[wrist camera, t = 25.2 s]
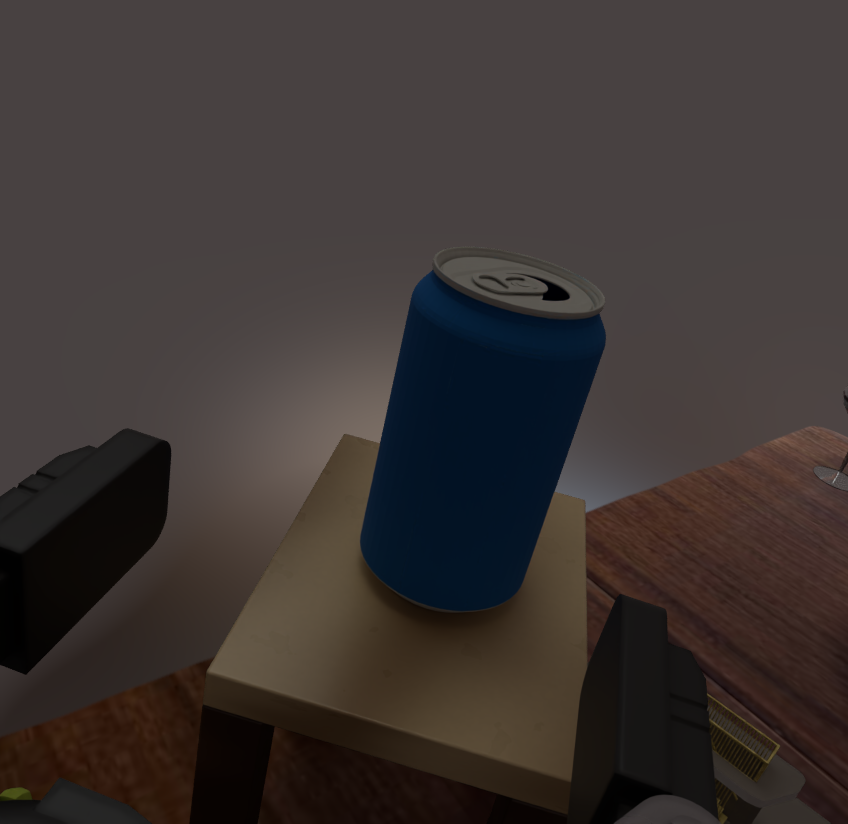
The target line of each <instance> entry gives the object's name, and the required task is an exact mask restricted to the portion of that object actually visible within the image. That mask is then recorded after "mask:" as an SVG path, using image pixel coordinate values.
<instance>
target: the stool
mask: <svg viewBox="0 0 848 824" xmlns="http://www.w3.org/2000/svg"><path fill="white" fill-rule="evenodd" d="M379 446H380V443H376V442H373V441H369V440H366V439H362V438H359V437H355V436H351V435H347V434H344V435H343V437H342V439H341V440H340V442H339V444H338V445H337V447H336V449H335V451H334V452H333V454H332V456H331V458H330V459H329V461H328V463H327V464H326V466H325V468H324V470H323V471H322V473H321V475H320V477H319V478H318V480H317V482H316V483H315V485H314V487H313V489H312V490H311V492H310V494H309V496H308V497H307V499H306V501H305V502H304V504H303V506H302V508H301V509H300V512H299V513H298V515H297V516H296V518H295V520H294V522H293V523H292V525H291V527H290V529H289V530H288V532H287V534H286V536H285V537H284V539H283V541H282V542H281V544H280V546H279V548H278V549H277V551H276V553H275V555H274V556H273V558H272V560H271V561H270V563H269V565H268V566H267V568H266V570H265V572H264V573H263V575H262V577H261V579H260V580H259V582H258V584H257V585H256V587H255V589H254V591H253V592H252V594H251V596H250V598H249V599H248V601H247V603H246V605H245V606H244V608H243V610H242V612H241V613H240V615H239V617H238V618H237V620H236V622H235V623H234V625H233V627H232V629H231V630H230V632H229V634H228V636H227V637H226V639H225V641H224V642H223V644H222V646H221V648H220V649H219V651H218V653H217V655H216V656H215V658H214V660H213V661H212V663H211V665H210V667H209V668H208V670H207V673H206V682H205V691H204V700H203V707H202V716H201V725H200V734H199V743H198V752H197V761H196V770H195V779H194V788H193V797H192V806H191V815H190V823H189V824H258V818H259V812H260V807H261V801H262V795H263V790H264V784H265V778H266V773H267V767H268V761H269V756H270V750H271V744H272V738H273V733H274V727H279V728H282V729H285V730H289V731H292V732H295V733H299V734H302V735H305V736H308V737H312V738H315V739H318V740H322V741H325V742H328V743H332V744H335V745H338V746H341V747H345V748H348V749H351V750H355V751H358V752H361V753H365V754H368V755H371V756H375V757H378V758H381V759H384V760H388V761H391V762H394V763H398V764H401V765H404V766H408V767H411V768H414V769H418V770H421V771H424V772H427V773H431V774H434V775H437V776H441V777H444V778H447V779H451V780H454V781H457V782H460V783H464V784H467V785H470V786H474V787H477V788H480V789H484V790H487V791H490V792H494V793H497V794H498V795H497V798H496V800H495V803H494V805H493V808H492V811H491V813H490V816H489V818H488V821H487V823H486V824H567V816H568V807H569V797H570V787H571V778H572V768H573V758H574V749H575V739H576V729H577V720H578V710H579V701H580V694H581V689H582V685H583V681H584V677H585V673H586V670H587V596H586V519H585V500H582V499H579V498H575V497H571V496H568V495H564V494H561V493H557V492H554V494H553V497H552V500H551V503H550V506H549V509H548V512H547V515H546V517H545V520H544V523H543V526H542V529H541V532H540V535H539V538H538V540H537V543H536V546H535V549H534V552H533V555H532V558H531V561H530V564H529V566H528V569H527V572H526V575H525V578H524V581H523V583H522V585H521V587H520V589H519V590H518V592H517V593H516V594H515V595H514V596H513V597H512V598H511V599H510V600H508V601H507V602H505V603H503V604H501V605H499V606H497V607H494V608H491V609H487V610H482V611H476V612H463V613H446V612H439V611H434V610H430V609H426V608H423V607H420V606H418V605H415V604H413V603H411V602H409V601H407V600H405V599H404V598H402V597H401V596H399V595H398V594H396V593H395V592H394V591H393V590H392V589H390V588H389V587H387V586H386V585H385V584H384V583H383V582H381V581H380V580H379V579H378V578H377V577H376V576H375V575H374V574H373V573H372V571H371V570H370V568H369V567H368V566H367V564H366V562H365V560H364V558H363V555H362V552H361V547H360V535H361V530H362V525H363V521H364V516H365V511H366V507H367V502H368V497H369V493H370V488H371V483H372V479H373V474H374V469H375V465H376V460H377V455H378V451H379Z"/></svg>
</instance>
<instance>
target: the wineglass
mask: <svg viewBox="0 0 848 824" xmlns="http://www.w3.org/2000/svg"><path fill="white" fill-rule="evenodd" d="M843 403H844V406H845V408H846V410H847V413H848V385H847V386H846V388H845V391H844V393H843ZM847 463H848V452H847V454H846V456H845V458H844V460H843V462H842V465H841V467H840V469H839V470H837V469H834V468H831V467H826V466H816V467H815V468H814V473H815V474H816V475H817V476H818V477H819V478H820V479H821V480H823V481H824V482H826V483H827V484H829V485H831V486H833V487H836V488H839V489H841V490H846V491H848V475H847V474H845V473H844V472H842V471H843V470H844V468H845V466H846V465H847Z"/></svg>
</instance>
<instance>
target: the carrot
mask: <svg viewBox="0 0 848 824" xmlns="http://www.w3.org/2000/svg"><path fill="white" fill-rule="evenodd" d="M7 800H32V797H31V794H30V792H29V791H28V790H26V789H23V788H12V789H8V790H5V791H4V792H3V793H2V794H1V795H0V801H7Z"/></svg>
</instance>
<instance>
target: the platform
mask: <svg viewBox="0 0 848 824" xmlns="http://www.w3.org/2000/svg"><path fill="white" fill-rule="evenodd" d="M588 664H589V663H587V667H588ZM708 697H710V700H709V701H708V704H709V702H710V701H711V699H712V700H713V702H712V704H711V706H709V705H708V708H707V711H709V720H710V730H709V734H711V742H712V753H713V764H714V775H715V786H716V797H717V808H718V818H719V822H720V823H721V824H831V823H830V822H828V821H827V820H826V819H824V818H823V817H822V816H820V815H819V814H818V813H816V812H815V811H814V810H812V809H811V808H810V807H808V806H807V805H806V804H804V803H803V802H802V801H800V800H799V799H798V798H796V796H797V794H798V793H799V791H800V790H801V788H802V787H803V785H804V783H805V778H804V776H803V775H802V773H801V772H799V771H798V770H797V769H795V768H794V767H793V766H791V765H790V764H788V763H787V762H786V761H784V760H783V759H782V758H780V757H779V756H777V755H776V752H777V750H778V749H779V747H780V745H778V744H777V743H776V742H774V741H773V740H771V739H770V738H769V737H767V736H766V735H764V734H763V733H762V732H760V731H759V730H758V729H756V728H755V727H753V726H752V725H751V724H749V723H748V722H746V721H745V720H744V719H742V718H741V717H739V716H738V715H737V714H735V713H734V712H733V711H731V710H730V709H728V708H727V707H726V706H724V705H723V704H721V703H720V702H719V701H717V700H716V699H714V698H713V697H712V696H710V695H709V694H708V693H707V698H708ZM714 701H715V702H717V703H716V705H715V706H714V708H711V707H712V705H713V703H714ZM717 704H719V707H718V709H717V711H716V710H714V709H715V707H716V706H717ZM720 706H722V707H723V708H722V710H721V712H720V713H718V710H719V708H720ZM724 708H725V709H726V711H725V712H724V714H723V716H722V715H721V713H722V711H723V709H724ZM727 710H728V711H729V713H728V715H727V717H726V718H725V717H724V715H725V713H726V712H727ZM730 713H732V716H731V718H730V720H731V719H732V717H733V715H735V716H736V717H735V719H734V721H735V720H736V718H739V720H738V722H739V721H740V720H741V721H742V723H741V724H740V726H739V727H738V726H737V724H738V722H737V723H736V725H735V724H733V723H734V721H733V722H731V721H730V720H728V719H727V718H728V716H729V714H730ZM743 722H744V723H746V724H745V726H746V725H748V726H749V727H748V728H747V730H746V732H744V731H743V730H744V728H745V726H744V727H743V729H740V727H741V725H742V724H743ZM750 727H751V728H752V730H753V729H754V730H755V733H756V732H758V733H759V734H758V736H759V735H760V734H761V735H762V737H761V739H762V738H763V736H764V737H765V740H764V742H765V741H766V739H768V740H769V741H768V743H767V745H766V746H764V745H763V744H764V742H763V743H762V744H761V743H760V741H761V739H760V740H759V742H758V741H757V738H758V736H757V737H756V739H754V738H753V737H754V735H755V733H754V734H753V736H752V737H751V736H750V734H751V732H752V730H751V731H750V733H749V734H747V731H748V729H749V728H750ZM770 741H771V742H772V745H773V744H775V745H776V746H775V748H774V749H773V751H771V750H770V749H771V747H772V745H771V746H770V748H769V749H768V748H766V747H767V746H768V744H769V742H770Z"/></svg>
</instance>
